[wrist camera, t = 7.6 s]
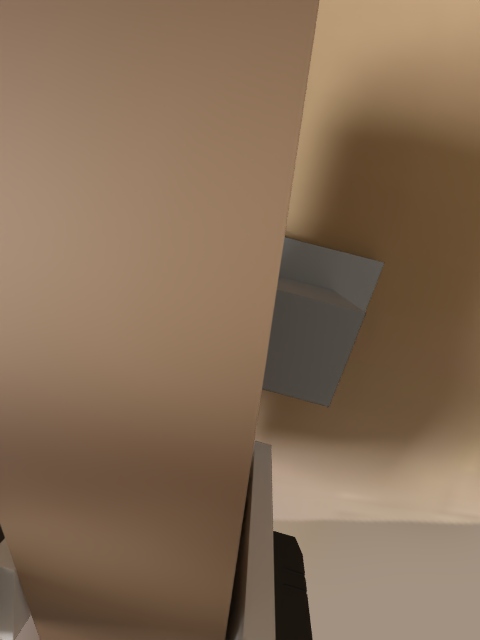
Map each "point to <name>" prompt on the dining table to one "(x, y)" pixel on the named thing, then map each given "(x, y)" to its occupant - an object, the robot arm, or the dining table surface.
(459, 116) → the dining table surface
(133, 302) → the walnut bar
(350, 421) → the dining table surface
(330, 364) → the fulcrum
